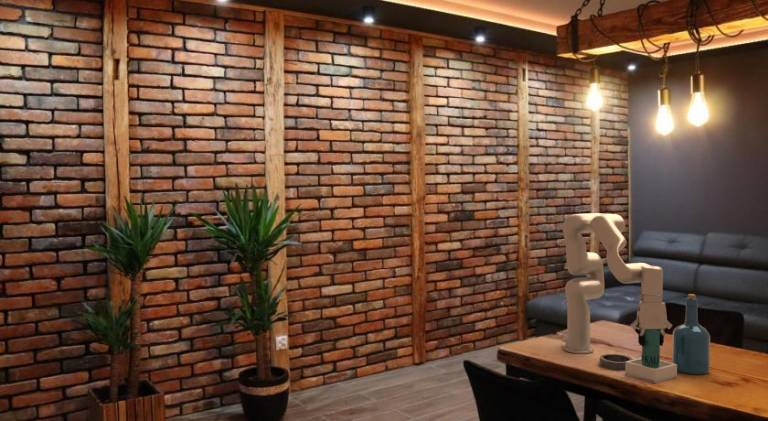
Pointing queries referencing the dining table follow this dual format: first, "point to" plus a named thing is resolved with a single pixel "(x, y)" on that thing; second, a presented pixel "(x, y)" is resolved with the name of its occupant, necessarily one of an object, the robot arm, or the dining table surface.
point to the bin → (651, 371)
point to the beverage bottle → (651, 348)
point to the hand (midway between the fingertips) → (650, 344)
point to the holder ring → (614, 361)
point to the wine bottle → (691, 342)
